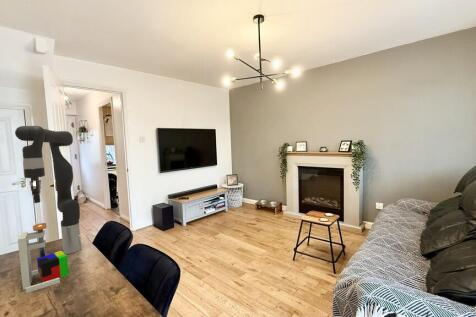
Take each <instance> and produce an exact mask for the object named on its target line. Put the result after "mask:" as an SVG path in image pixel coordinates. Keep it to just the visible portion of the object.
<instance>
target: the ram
mask: <svg viewBox="0 0 476 317" xmlns="http://www.w3.org/2000/svg"><path fill="white" fill-rule="evenodd" d="M47 228H48V226H47V223H46V222H41V223H40V222H39V223H36V224H33V225H32V232H33V231H34V232H38V233H42V232H43V230H45V229H47ZM44 237H45V236H44ZM44 237H40V238H37V239H38V240H37V241H38V242H39V243H43V242H44V240H45V239H44ZM38 250H39V258H40V257H44V256H46V249H45V247H41V248H38Z"/></svg>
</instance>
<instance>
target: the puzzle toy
mask: <svg viewBox="0 0 476 317" xmlns="http://www.w3.org/2000/svg"><path fill="white" fill-rule="evenodd" d="M67 255H68V254H64V253H63V250H59V251H56V252H53V253H52V252H51V253H49V254H45V256H44V257H40V256H39V257H37V258H36V260H37V270H38V273H39V274H38V278H39V280H40V281H41V283H43V282H46V281H50V280H53V279H56V278H59V279H60V278H61V279H62V278H63V277H66V276H68V275H69V272H70V271H69V264H68V263H69V262H68V256H67Z"/></svg>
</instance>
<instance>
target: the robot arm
mask: <svg viewBox="0 0 476 317" xmlns="http://www.w3.org/2000/svg"><path fill="white" fill-rule="evenodd" d="M14 135H15V137H16V138H17V139H18V140H20V141H22V142H23V141H25V142H32V143H31V144H28V145H24V146H23V147H22V150H21V151H22V167H23V168H22V169H23V176H24V179H30V181H29V186H30V191H31V194H32V196H33V203H34V204H39V203H41V196H40V195H41V189H42V186H41V184H42V180H41V179H40V178H43V177H45V175H46V173H45V162H44V158H43V145H44V143H48V144H49V149H50V154H51V158H52V166H53V174H54V176H53V177H54V180H55V182H54V183H55V187H56V193H57V196H56V198H57V199H56V204H57V205H56V206H57V210H58V211H59V212H60V213H62V220H61V221H60V231H61V239H62V240H61V241H62V252H63V253H64V254H66V255H69V254H74V253H76V252H77V253H78V252H79V251H82V241H81V239H82V238H81V230H80V228H81V227H80V218H81V210H80V203H79V201H78V200H76V199H73V194H72V186H73V185H72V184H73V181H74V172H73V171H74V170H73V166H72V165H71V163H70V162H69V161H68V160H67V159H66V157H64V155H63V154H62V152H61V150H60V147H69V146H71V145H72V144H73V142H74V138H73V137H74V136H73V134H72V133H71V132H70V131H66V130H61V131H59V130H57V131H56V130H51V129H47V128H43V127H42V126H39V125H21V126H18V127H16V129H15V131H14ZM39 179H40V180H39Z"/></svg>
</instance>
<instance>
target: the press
mask: <svg viewBox="0 0 476 317" xmlns="http://www.w3.org/2000/svg"><path fill="white" fill-rule="evenodd" d="M45 234H46V231H45V229H43V232H42V233H38V232H37V231H34V232H33V231H32V232H29V231H26V232H25V231H24V232H21V233H20V235H19V236H18V239H17V245H18V254H19V255H18V256H19V264H20V265H19V267H20V274H21V276H20V277H21V284H22V285H21V286H22V291H23V290H24V291H25V294H29V293H31V292H34V291H37V290H41V289H44V288H47V287H50V286H53V285H57V284H60V283H61V280H60V278H56V279H53V280H50V281H46V282H39V283H37V284H34V285H32V282H33V276H36V275H39V273H38V269H34V270H32V259H31V250H32V251H33V250H36V249H39V248H41V247H44V248H45V247H46V244H47V243H46V239H44V242H43V243H39V242H38V240H37V241H33V242H30V240H35V239H38V238H40V237H45Z"/></svg>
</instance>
